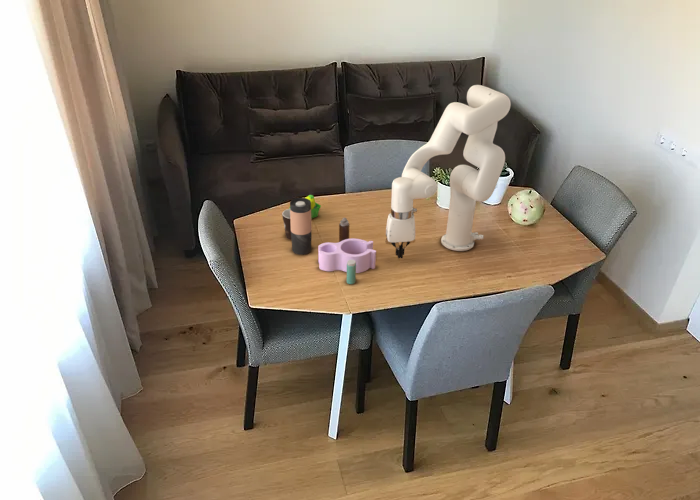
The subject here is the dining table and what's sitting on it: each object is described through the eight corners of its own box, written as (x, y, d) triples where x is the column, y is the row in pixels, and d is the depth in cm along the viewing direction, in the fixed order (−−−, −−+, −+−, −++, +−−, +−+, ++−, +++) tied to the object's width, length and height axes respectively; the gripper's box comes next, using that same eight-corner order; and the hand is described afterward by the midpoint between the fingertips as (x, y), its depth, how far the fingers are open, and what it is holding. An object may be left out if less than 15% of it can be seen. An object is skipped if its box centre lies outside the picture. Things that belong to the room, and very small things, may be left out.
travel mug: (315, 247, 222) (314, 200, 212) (305, 257, 217) (304, 208, 206) (297, 242, 225) (296, 195, 215) (287, 252, 219) (285, 204, 209)
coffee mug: (301, 242, 225) (301, 219, 220) (280, 240, 227) (279, 217, 221) (309, 228, 235) (309, 206, 230) (288, 225, 236) (288, 203, 231)
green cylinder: (355, 278, 205) (355, 258, 201) (356, 284, 202) (356, 264, 198) (345, 279, 205) (346, 259, 200) (346, 284, 202) (347, 264, 198)
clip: (320, 274, 207) (320, 258, 203) (317, 256, 217) (317, 240, 214) (376, 272, 209) (377, 255, 205) (371, 253, 219) (371, 237, 216)
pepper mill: (348, 244, 225) (349, 215, 218) (349, 249, 222) (350, 220, 215) (338, 245, 224) (338, 215, 218) (339, 250, 221) (339, 220, 215)
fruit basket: (310, 210, 248) (309, 185, 243) (323, 217, 243) (323, 192, 237) (288, 218, 242) (287, 193, 236) (302, 226, 236) (301, 201, 230)
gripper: (420, 206, 209) (417, 249, 218) (378, 208, 207) (377, 252, 217) (425, 216, 202) (422, 260, 212) (382, 218, 201) (381, 263, 211)
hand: (399, 256), depth 215 cm, fingers closed
